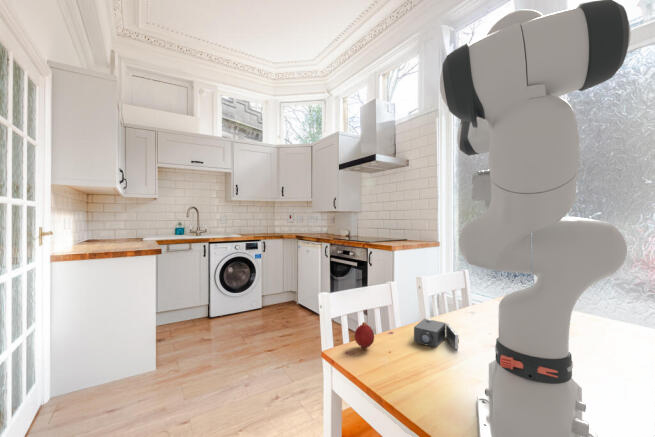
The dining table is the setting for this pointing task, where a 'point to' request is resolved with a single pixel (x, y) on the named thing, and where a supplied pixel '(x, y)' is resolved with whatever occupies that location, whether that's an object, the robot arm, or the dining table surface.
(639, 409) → the dining table surface
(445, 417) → the dining table surface
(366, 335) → the onion
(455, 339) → the side door
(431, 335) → the camera body
